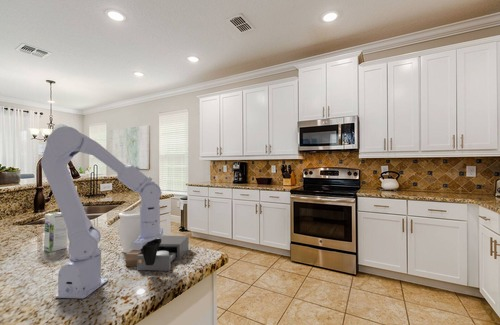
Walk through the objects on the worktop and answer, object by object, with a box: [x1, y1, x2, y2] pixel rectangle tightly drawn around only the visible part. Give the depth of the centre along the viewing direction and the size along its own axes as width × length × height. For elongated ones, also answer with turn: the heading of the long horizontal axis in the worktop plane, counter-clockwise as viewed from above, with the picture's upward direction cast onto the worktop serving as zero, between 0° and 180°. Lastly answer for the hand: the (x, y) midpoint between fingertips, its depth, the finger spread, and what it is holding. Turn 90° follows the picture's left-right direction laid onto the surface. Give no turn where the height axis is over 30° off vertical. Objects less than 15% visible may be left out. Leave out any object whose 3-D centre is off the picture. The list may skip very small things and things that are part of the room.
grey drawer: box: [136, 253, 177, 272], centre depth 80 cm, size 11×11×5 cm
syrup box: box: [43, 211, 68, 253], centre depth 95 cm, size 6×6×14 cm
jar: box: [118, 209, 140, 254], centre depth 94 cm, size 11×10×15 cm
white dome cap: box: [156, 251, 169, 255], centre depth 80 cm, size 6×6×2 cm
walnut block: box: [125, 250, 142, 267], centre depth 80 cm, size 4×4×4 cm
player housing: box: [157, 235, 190, 261], centre depth 89 cm, size 10×11×6 cm
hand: (150, 264), depth 72 cm, fingers closed
